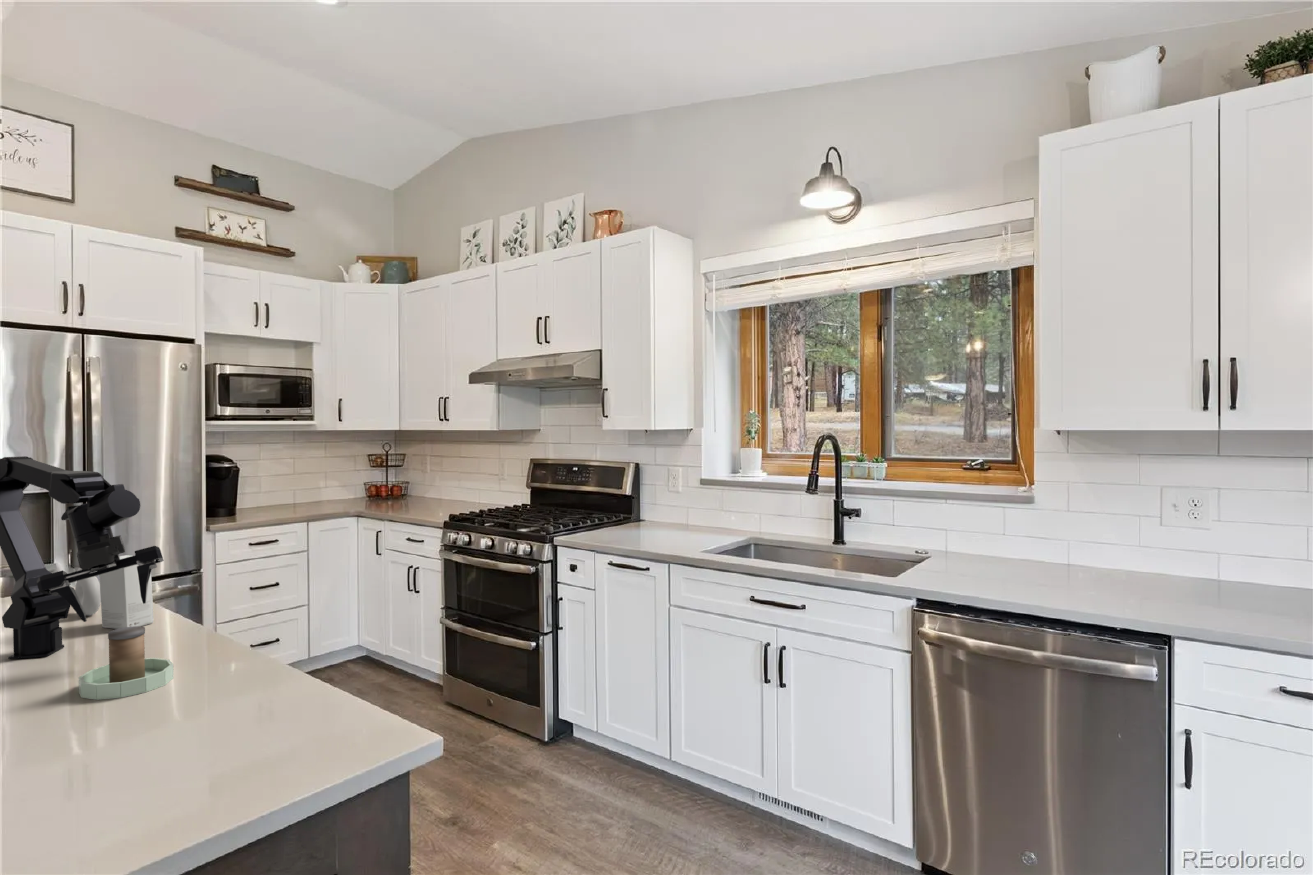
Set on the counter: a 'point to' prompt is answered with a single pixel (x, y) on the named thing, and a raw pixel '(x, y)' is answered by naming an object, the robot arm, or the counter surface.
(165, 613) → the counter surface
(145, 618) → the skincare box
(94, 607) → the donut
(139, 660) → the walnut spice jar
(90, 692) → the sage green dish
